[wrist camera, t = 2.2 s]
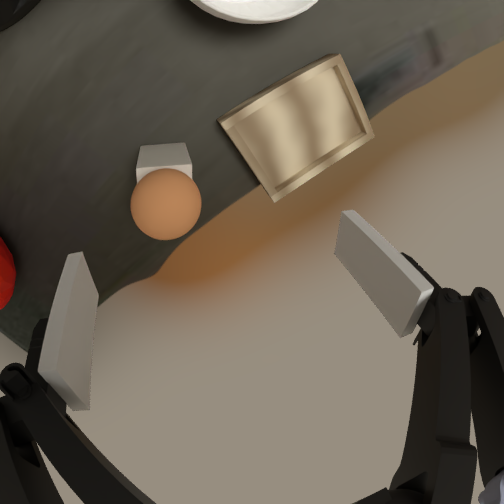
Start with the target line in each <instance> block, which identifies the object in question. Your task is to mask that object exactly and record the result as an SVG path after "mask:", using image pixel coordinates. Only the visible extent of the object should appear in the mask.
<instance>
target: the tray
mask: <svg viewBox="0 0 504 504" xmlns="http://www.w3.org/2000/svg"><path fill="white" fill-rule="evenodd" d="M217 121H218V122H219V124H220V125H221V126H222V128H223V129H224V131H225V132H226V133H227V135H228V136H229V138H230V139H231V141H232V142H233V144H234V145H235V146H236V148H237V149H238V151H239V152H240V154H241V155H242V157H243V158H244V160H245V161H246V162H247V164H248V165H249V167H250V168H251V170H252V171H253V173H254V174H255V176H256V177H257V179H258V180H259V182H260V183H261V185H262V186H263V188H264V189H265V191H266V192H267V194H268V195H269V196H270V198H271V199H272V200H273V202H274V203H275V202H276V201H278V200H280V199H281V198H282V197H284V196H285V195H287V194H288V193H290V192H291V191H293V190H294V189H296V188H297V187H299V186H300V185H302V184H303V183H305V182H306V181H308V180H309V179H311V178H312V177H314V176H315V175H317V174H318V173H320V172H321V171H323V170H324V169H326V168H327V167H329V166H330V165H332V164H333V163H335V162H337V161H338V160H340V159H341V158H343V157H344V156H345V155H347V154H349V153H350V152H352V151H353V150H355V149H357V148H358V147H360V146H361V145H363V144H364V143H366V142H367V141H369V140H371V139H372V138H374V137H375V136H374V133H373V130H372V128H371V125H370V122H369V119H368V117H367V114H366V112H365V109H364V107H363V104H362V102H361V99H360V97H359V95H358V92H357V90H356V88H355V85H354V83H353V81H352V78H351V76H350V74H349V72H348V70H347V67H346V65H345V63H344V61H343V59H342V57H341V55H340V54H328V55H326V56H324V57H322V58H320V59H318V60H316V61H314V62H312V63H310V64H308V65H306V66H304V67H302V68H301V69H299V70H297V71H295V72H293V73H291V74H290V75H288V76H286V77H284V78H282V79H281V80H279V81H277V82H275V83H274V84H272V85H270V86H269V87H267V88H265V89H264V90H262V91H260V92H259V93H257V94H255V95H254V96H252V97H250V98H249V99H247V100H246V101H244V102H242V103H241V104H239V105H238V106H236V107H235V108H233V109H232V110H230V111H228V112H227V113H225V114H224V115H222V116H221V117H219V118H218V119H217Z"/></svg>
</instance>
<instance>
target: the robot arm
mask: <svg viewBox="0 0 504 504" xmlns="http://www.w3.org/2000/svg"><path fill="white" fill-rule="evenodd" d="M39 1H40V0H0V31H2V30H4V29H6V28H8V27H10V26H11V25H13V24H14V23H16V22H17V21H19V20H20V19H21V18H22V17H24V16H25V15H26V14H27V13H28V12H29V11H31V10H32V9H33V8H34V7H35V6H36V4H37V3H38V2H39ZM334 254H335V255H336V256H337V257H338V259H339V260H340V261H341V262H342V263H343V265H344V266H345V267H346V269H347V270H348V271H349V272H350V273H351V275H352V276H353V277H354V279H355V280H356V281H357V282H358V284H359V285H360V286H361V287H362V289H363V290H364V291H365V292H366V294H367V295H368V296H369V297H370V299H371V300H372V301H373V303H374V304H375V305H376V306H377V308H378V309H379V310H380V312H381V313H382V314H383V316H384V317H385V318H386V320H387V321H388V322H389V324H390V325H391V326H392V328H393V329H394V330H395V332H396V333H397V334H398V336H399V337H400V338H401V337H404V336H406V335H408V334H411V333H412V332H413V331H414V329H415V327H416V325H417V324H418V325H419V326H420V327H421V329H420V331H419V333H418V335H417V336H416V338H415V340H414V343H413V345H415V344H416V342H417V341H418V351H417V364H416V375H415V384H414V392H413V400H412V407H411V414H410V420H409V426H408V431H407V437H406V442H405V447H404V452H403V456H402V460H401V464H400V466H399V468H398V470H397V471H396V473H395V475H394V477H393V479H392V482H391V485H390V488H389V490H387V488H384V489H382V490H380V491H378V492H376V493H374V494H372V495H370V496H368V497H366V498H363V499H361V500H359V501H357V502H355V503H353V504H471V499H472V493H473V486H474V480H475V472H476V464H477V451H478V459H479V466H480V473H481V476H482V481H483V485H484V487H485V490H484V491H482V492H481V493H480V495H479V497H478V501H479V503H480V504H504V317H503V315H502V313H501V311H500V309H499V307H498V304H497V303H496V300H495V298H494V296H493V295H492V294H491V293H490V292H489V291H488V290H487V289H485V288H482V287H476V288H475V289H474V290H473V292H472V294H471V296H461V295H460V294H459V293H458V292H457V291H455V290H453V289H451V288H441V287H440V286H439V285H438V284H437V283H436V282H435V280H434V279H432V277H431V276H430V275H429V274H428V273H427V272H426V271H424V270H423V268H422V267H421V266H419V265H418V263H416V261H415V260H413V258H411V257H410V256H408V255H406V254H404V253H400V252H399V251H398V250H396V249H395V248H394V247H393V246H392V245H391V244H390V243H389V242H388V241H387V240H386V239H385V238H384V237H383V236H381V234H380V233H378V232H377V231H376V230H375V229H374V228H373V227H372V226H371V225H370V224H369V223H368V222H366V221H365V220H364V219H363V218H362V217H361V216H360V215H359V214H358V213H356V212H355V211H354V210H348V211H342V212H341V218H340V224H339V230H338V236H337V242H336V248H335V253H334ZM98 298H99V294H98V292H97V289H96V287H95V284H94V282H93V279H92V277H91V274H90V272H89V269H88V266H87V264H86V261H85V258H84V255H83V252H77V253H72V254H68V257H67V260H66V262H65V265H64V268H63V271H62V275H61V278H60V281H59V284H58V287H57V291H56V294H55V298H54V301H53V305H52V308H51V312H50V316H49V318H45V319H40V320H39V322H38V323H37V325H36V326H35V328H34V331H33V334H32V338H31V339H32V341H31V342H30V346H29V347H30V349H29V351H28V355H27V360H26V365H25V367H24V366H23V365H22V364H20V363H11V364H9V365H8V366H6V367H5V368H4V369H3V370H2V372H1V374H0V390H1V391H2V392H3V393H4V394H5V396H3V397H1V398H0V504H64V502H63V500H62V499H61V497H60V495H59V493H58V491H57V489H56V487H55V485H54V483H53V481H52V479H51V476H50V474H49V472H48V470H47V467H46V465H45V463H44V460H43V458H42V456H41V453H40V451H39V448H38V446H37V443H38V445H39V446H40V448H41V449H42V451H43V452H44V454H45V455H46V456H47V458H48V459H49V461H50V462H51V463H52V465H53V466H54V467H55V469H56V470H57V471H58V473H59V474H60V475H61V476H62V478H63V479H64V480H65V481H66V482H67V484H68V485H69V486H70V488H71V489H72V490H73V491H74V492H75V493H76V495H77V496H78V497H79V498H80V499H81V500H82V501H83V503H84V504H156V503H155V502H154V501H152V500H151V499H150V498H149V497H148V496H146V495H145V494H144V493H143V492H142V491H141V490H139V489H138V488H137V487H136V486H135V485H134V484H133V483H132V482H130V481H129V480H128V479H127V478H126V477H125V476H124V475H123V474H122V473H121V472H119V470H118V469H117V468H116V467H115V466H114V465H113V464H112V463H111V462H109V460H108V459H107V458H106V457H105V456H104V455H103V454H102V453H101V452H100V451H99V450H98V449H97V448H96V447H95V446H94V445H93V443H92V442H91V441H90V440H89V439H88V438H87V437H86V435H85V434H84V433H83V432H82V431H81V430H80V428H79V427H78V426H77V425H76V424H75V422H73V420H72V419H71V418H70V416H69V415H68V414H67V413H66V404H67V405H68V406H69V407H70V408H71V409H72V410H73V411H79V410H90V383H91V382H90V381H91V364H92V351H93V340H94V330H95V321H96V312H97V305H98ZM479 328H480V330H481V334H480V335H479V336H478V334H477V331H478V329H479ZM471 412H472V417H473V423H474V429H475V436H476V442H477V449H476V447H475V446H472V445H470V442H469V438H470V437H469V436H470V421H471ZM36 442H37V443H36Z"/></svg>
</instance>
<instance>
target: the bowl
mask: <svg viewBox="0 0 504 504" xmlns="http://www.w3.org/2000/svg"><path fill="white" fill-rule="evenodd" d="M190 1H191V2H193V3H194V4H195V5H197V6H198V7H199V8H201V9H202V10H204V11H206V12H208V13H210V14H212V15H213V16H216V17H219V18H222V19H225V20H228V21H232V22H238V23H243V24H264V23H272V22H279V21H282V20H285V19H289V18H292V17H294V16H296V15H298V14H300V13H302V12H304V11H306V10H307V9H309V8H310V7H311V6H312V5H314V4H315V3H316V2H317V1H318V0H190Z"/></svg>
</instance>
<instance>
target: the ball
mask: <svg viewBox="0 0 504 504" xmlns="http://www.w3.org/2000/svg"><path fill="white" fill-rule="evenodd" d="M200 211H201V196H200V192H199V189H198V187H197V186H196V184H195V182H194V181H193V180H192V179H191V178H190V177H189V176H188V175H186V174H185V173H183V172H181V171H179V170H176V169H170V168H163V169H158V170H155V171H152V172H150V173H148V174H147V175H145V176H144V177H143V178H142V179H141V180H140V181H139V182H138V184H137V185H136V187H135V188H134V191H133V193H132V197H131V213H132V216H133V219H134V221H135V223H136V225H137V226H138V227H139V229H140V230H141V231H142V232H144V233H145V234H147V235H148V236H150V237H152V238H155V239H159V240H171V239H176V238H178V237H181V236H183V235H184V234H186V233H187V232H188V231H189V230H190V229H191V228H192V227H193V226H194V225H195V223H196V222H197V220H198V218H199V215H200Z"/></svg>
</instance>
